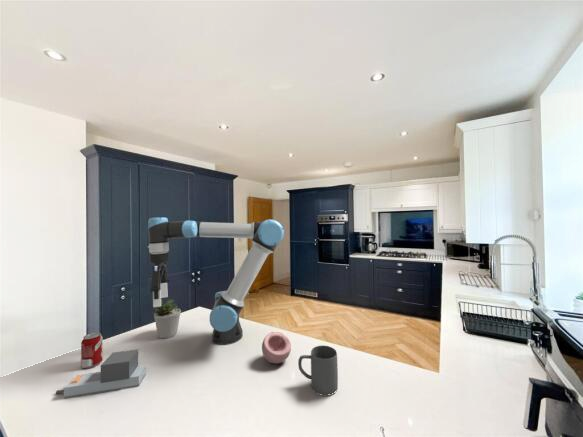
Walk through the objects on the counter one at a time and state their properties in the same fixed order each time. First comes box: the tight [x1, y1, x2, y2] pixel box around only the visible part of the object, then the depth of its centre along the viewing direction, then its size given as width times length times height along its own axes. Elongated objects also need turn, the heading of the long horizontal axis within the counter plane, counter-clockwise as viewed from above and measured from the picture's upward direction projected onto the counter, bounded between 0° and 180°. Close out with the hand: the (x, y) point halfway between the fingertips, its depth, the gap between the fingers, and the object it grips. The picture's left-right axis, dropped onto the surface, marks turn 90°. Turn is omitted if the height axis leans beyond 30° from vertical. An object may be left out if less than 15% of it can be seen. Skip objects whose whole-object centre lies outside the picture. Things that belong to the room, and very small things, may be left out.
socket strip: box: [55, 364, 147, 399], centre depth 84 cm, size 26×7×4 cm, turn 105°
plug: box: [100, 348, 139, 383], centre depth 85 cm, size 9×8×8 cm
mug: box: [297, 345, 339, 396], centre depth 82 cm, size 14×9×12 cm
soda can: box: [80, 331, 104, 369], centre depth 98 cm, size 7×7×12 cm
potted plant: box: [150, 298, 182, 339], centre depth 124 cm, size 13×14×20 cm
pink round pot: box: [261, 331, 292, 365], centre depth 98 cm, size 12×12×11 cm
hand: (161, 301), depth 103 cm, fingers open, 13 cm apart
